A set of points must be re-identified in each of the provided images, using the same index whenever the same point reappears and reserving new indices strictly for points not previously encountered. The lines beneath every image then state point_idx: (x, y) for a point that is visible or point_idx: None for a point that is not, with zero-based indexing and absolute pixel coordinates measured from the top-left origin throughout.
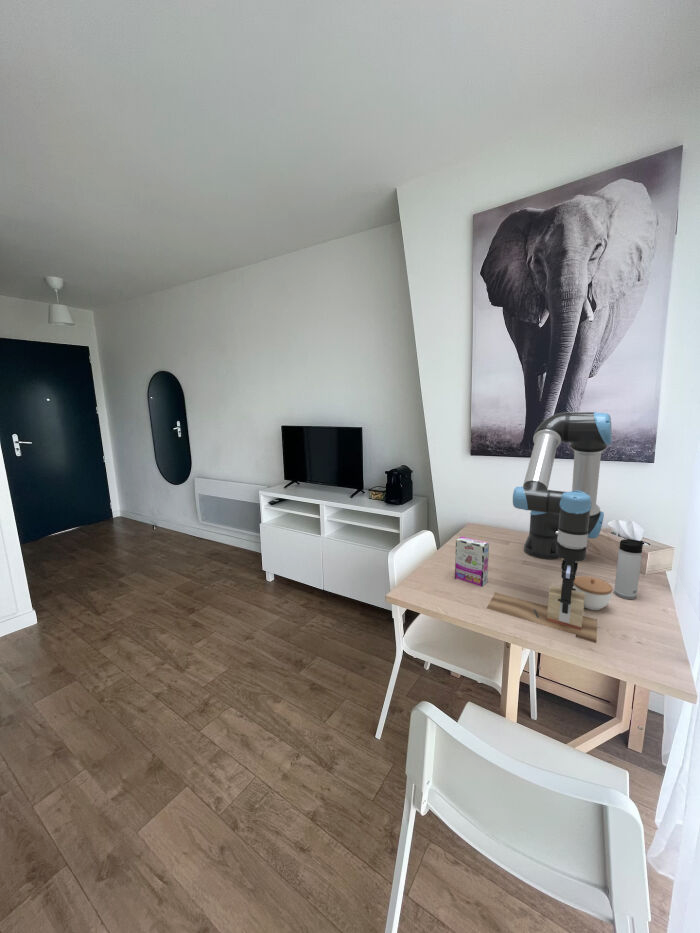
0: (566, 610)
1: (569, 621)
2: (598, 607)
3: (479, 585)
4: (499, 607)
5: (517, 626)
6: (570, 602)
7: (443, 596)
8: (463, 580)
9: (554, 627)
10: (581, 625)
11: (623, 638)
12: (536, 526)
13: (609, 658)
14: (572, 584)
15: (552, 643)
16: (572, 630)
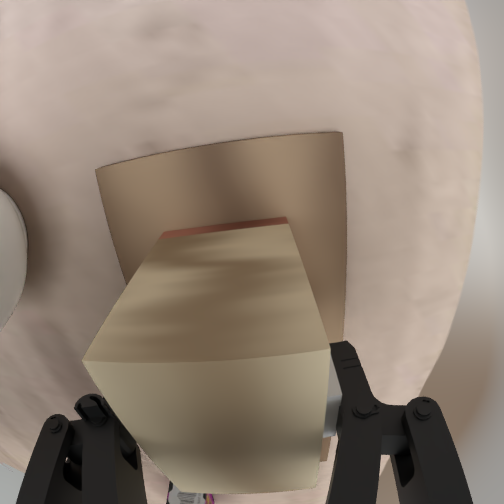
0: (357, 364)
1: None
2: (5, 196)
3: None
4: None
5: (374, 394)
6: (433, 413)
7: (311, 494)
8: (212, 499)
9: (337, 320)
10: (290, 229)
11: (184, 25)
12: None
13: (426, 79)
14: (117, 481)
15: (434, 291)
16: (316, 253)
